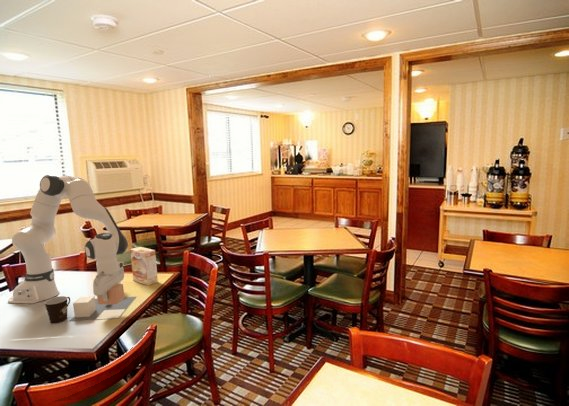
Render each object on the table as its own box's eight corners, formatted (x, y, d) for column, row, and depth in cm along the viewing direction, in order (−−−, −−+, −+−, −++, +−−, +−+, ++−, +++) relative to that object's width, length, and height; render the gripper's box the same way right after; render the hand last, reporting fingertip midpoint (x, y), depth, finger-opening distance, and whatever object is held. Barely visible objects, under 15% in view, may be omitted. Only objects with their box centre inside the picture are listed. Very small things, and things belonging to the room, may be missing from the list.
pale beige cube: (74, 317, 159) (72, 303, 158) (81, 310, 166) (80, 297, 165) (89, 316, 160) (87, 302, 159) (96, 310, 166) (94, 296, 165)
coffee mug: (53, 327, 151) (50, 306, 150) (44, 322, 156) (41, 301, 154) (80, 316, 161) (77, 296, 160) (70, 312, 166) (68, 292, 164)
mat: (68, 322, 156) (68, 321, 156) (93, 299, 179) (93, 298, 179) (118, 319, 157) (118, 318, 157) (137, 297, 181) (137, 296, 181)
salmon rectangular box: (117, 304, 158) (115, 289, 156) (98, 304, 158) (96, 289, 157) (124, 298, 164) (122, 284, 163) (106, 298, 164) (104, 284, 163)
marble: (103, 306, 170) (103, 301, 169) (106, 304, 173) (105, 298, 172) (109, 306, 170) (109, 300, 169) (112, 303, 173) (111, 298, 172)
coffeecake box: (132, 280, 205) (129, 249, 202) (143, 276, 211) (140, 246, 208) (147, 285, 196) (144, 253, 193) (158, 281, 202) (155, 249, 199)
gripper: (101, 276, 148) (105, 306, 150) (125, 261, 168) (128, 287, 170) (87, 276, 148) (91, 306, 151) (112, 261, 169) (115, 288, 171)
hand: (110, 296), depth 161 cm, fingers closed on salmon rectangular box, 7 cm apart
